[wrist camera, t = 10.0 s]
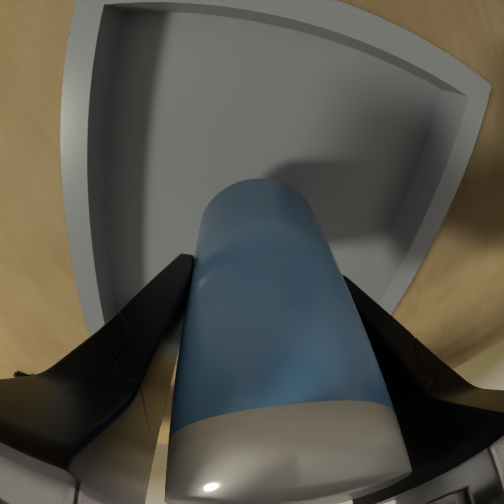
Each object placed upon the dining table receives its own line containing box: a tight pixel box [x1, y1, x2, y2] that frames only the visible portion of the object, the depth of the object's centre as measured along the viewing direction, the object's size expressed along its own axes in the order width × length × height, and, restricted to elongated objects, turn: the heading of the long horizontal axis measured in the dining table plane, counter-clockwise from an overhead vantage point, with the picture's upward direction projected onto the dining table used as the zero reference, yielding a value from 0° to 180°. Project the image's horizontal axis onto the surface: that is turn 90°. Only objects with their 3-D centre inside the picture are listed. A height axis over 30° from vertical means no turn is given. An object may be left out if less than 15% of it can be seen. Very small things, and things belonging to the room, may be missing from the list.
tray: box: [61, 0, 492, 362], centre depth 13 cm, size 18×16×3 cm
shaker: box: [165, 178, 412, 504], centre depth 8 cm, size 4×4×9 cm
